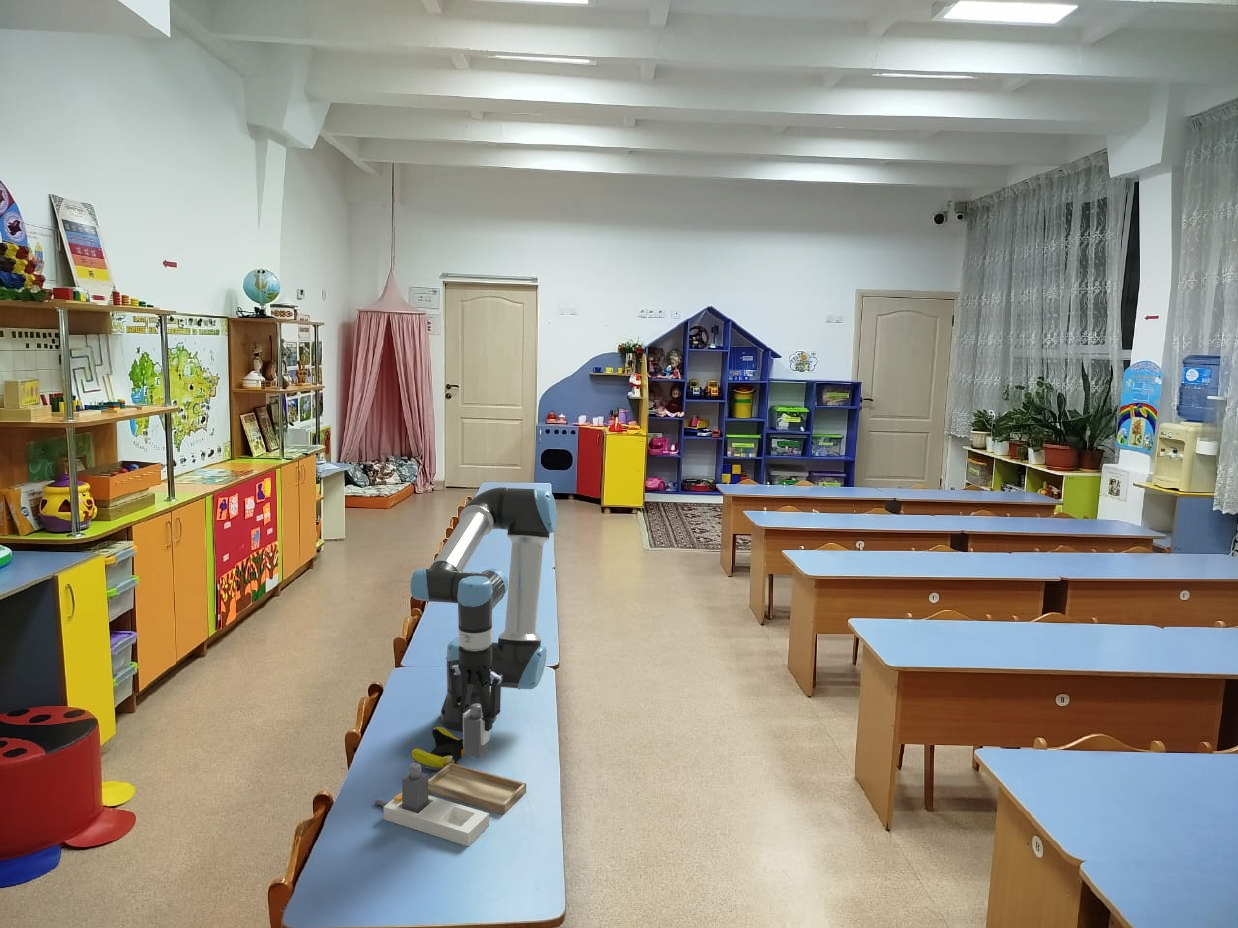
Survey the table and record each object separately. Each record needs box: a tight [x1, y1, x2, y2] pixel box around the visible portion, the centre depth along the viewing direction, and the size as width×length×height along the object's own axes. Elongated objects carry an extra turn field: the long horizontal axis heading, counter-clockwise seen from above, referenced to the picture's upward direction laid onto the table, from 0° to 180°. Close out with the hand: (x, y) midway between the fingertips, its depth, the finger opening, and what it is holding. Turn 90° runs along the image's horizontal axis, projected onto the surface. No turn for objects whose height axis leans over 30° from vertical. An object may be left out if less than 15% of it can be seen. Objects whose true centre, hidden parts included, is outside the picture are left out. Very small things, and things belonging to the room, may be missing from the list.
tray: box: [428, 763, 527, 815], centre depth 194 cm, size 10×21×2 cm, turn 66°
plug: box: [464, 703, 490, 759], centre depth 192 cm, size 4×4×12 cm
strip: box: [374, 791, 490, 847], centre depth 182 cm, size 8×28×4 cm, turn 66°
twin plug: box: [401, 762, 429, 813], centre depth 183 cm, size 4×4×12 cm
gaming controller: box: [411, 725, 465, 772], centre depth 207 cm, size 15×6×10 cm
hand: (476, 739), depth 192 cm, fingers closed on plug, 4 cm apart
